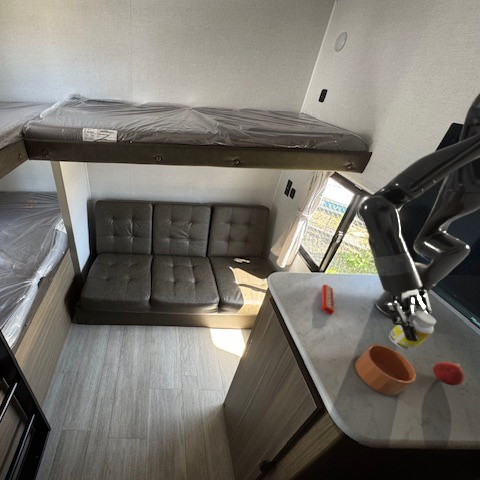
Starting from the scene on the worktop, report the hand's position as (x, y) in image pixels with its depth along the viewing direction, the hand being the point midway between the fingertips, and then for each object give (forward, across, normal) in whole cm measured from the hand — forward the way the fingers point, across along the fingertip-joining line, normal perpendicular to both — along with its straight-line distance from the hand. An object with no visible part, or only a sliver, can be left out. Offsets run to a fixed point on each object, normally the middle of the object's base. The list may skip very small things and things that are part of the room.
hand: (419, 336), depth 63 cm
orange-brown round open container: (+14, 0, +14) cm, 19 cm away
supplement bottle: (+2, 0, +5) cm, 5 cm away
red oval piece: (+19, +16, +8) cm, 27 cm away
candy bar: (-5, +11, +32) cm, 35 cm away
